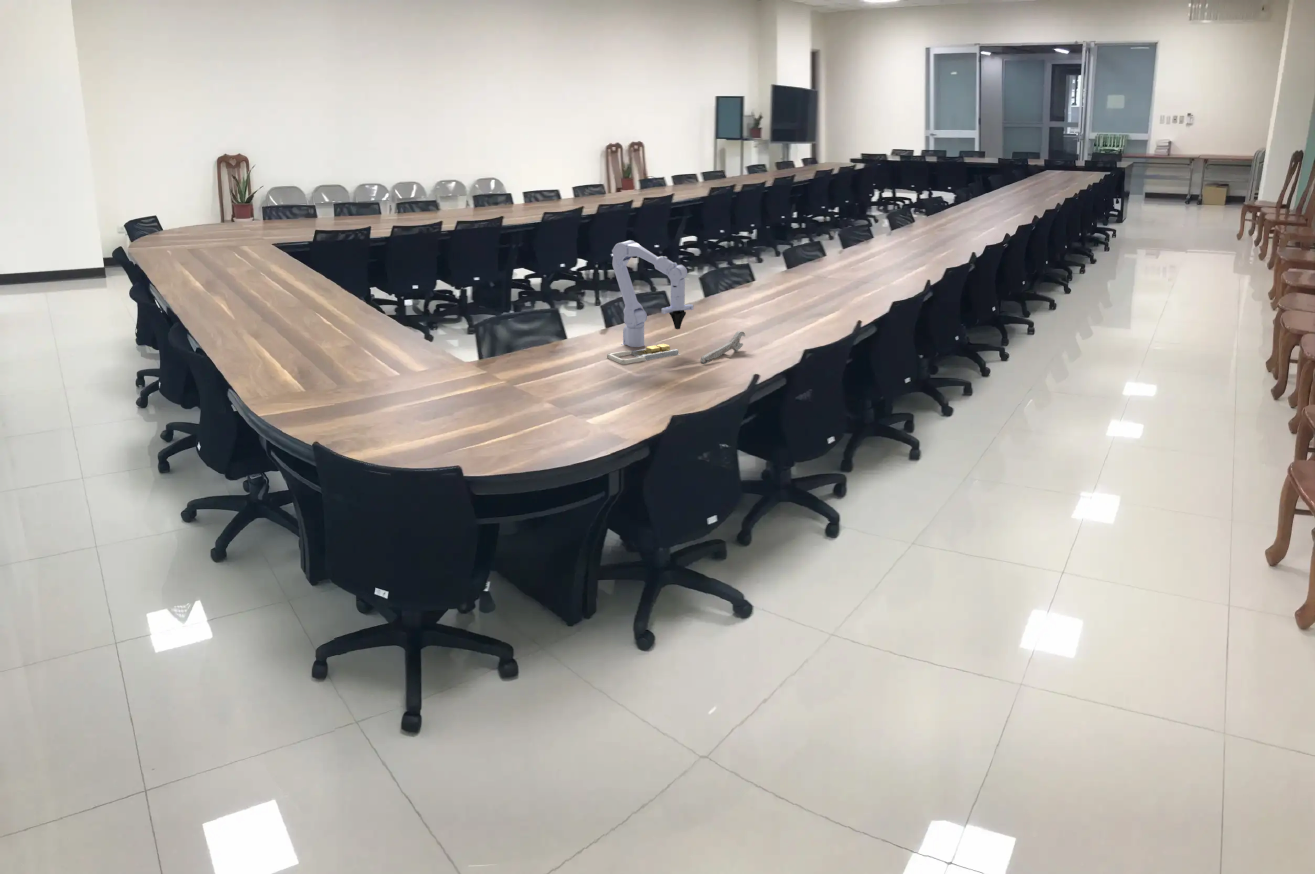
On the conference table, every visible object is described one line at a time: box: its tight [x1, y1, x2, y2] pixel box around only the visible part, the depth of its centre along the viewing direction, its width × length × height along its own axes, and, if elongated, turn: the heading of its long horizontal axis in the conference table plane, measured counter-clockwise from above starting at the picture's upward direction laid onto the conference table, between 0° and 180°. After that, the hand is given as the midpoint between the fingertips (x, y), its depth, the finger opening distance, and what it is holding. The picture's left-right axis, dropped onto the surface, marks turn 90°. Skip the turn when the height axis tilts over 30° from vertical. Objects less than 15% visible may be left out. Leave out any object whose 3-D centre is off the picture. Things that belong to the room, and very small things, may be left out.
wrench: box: [700, 330, 746, 365], centre depth 370 cm, size 8×2×30 cm
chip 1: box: [645, 345, 660, 354], centre depth 369 cm, size 4×4×3 cm
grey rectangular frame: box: [606, 349, 645, 365], centre depth 363 cm, size 12×10×2 cm
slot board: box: [630, 348, 681, 362], centre depth 370 cm, size 12×17×2 cm
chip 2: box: [655, 343, 671, 352], centre depth 371 cm, size 4×4×3 cm
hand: (677, 328), depth 372 cm, fingers closed
